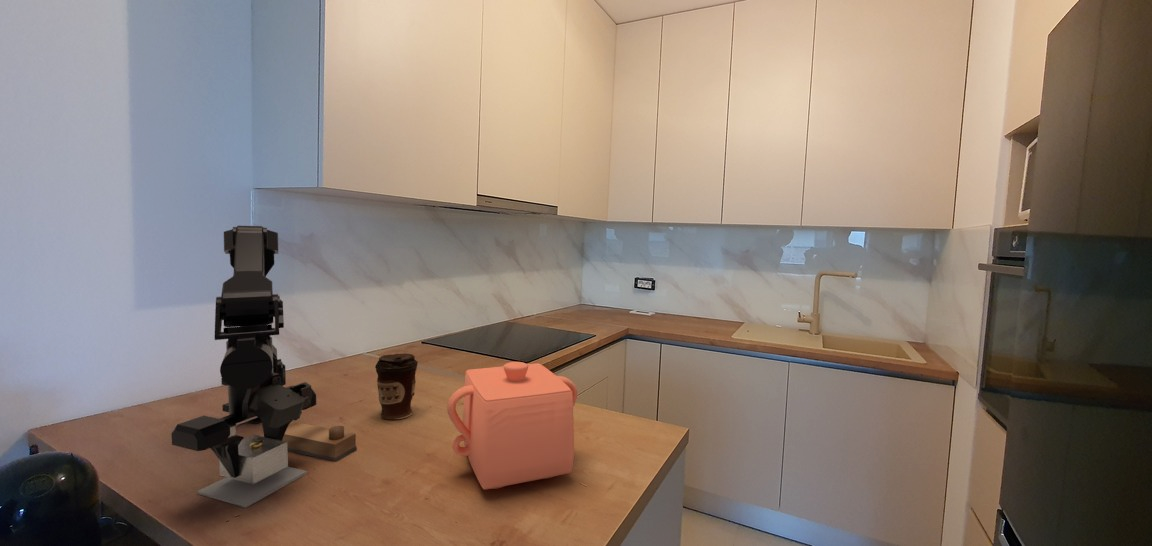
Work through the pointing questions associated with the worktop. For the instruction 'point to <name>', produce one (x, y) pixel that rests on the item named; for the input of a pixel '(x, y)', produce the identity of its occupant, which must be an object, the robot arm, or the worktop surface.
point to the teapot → (515, 423)
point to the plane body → (319, 441)
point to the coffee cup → (396, 384)
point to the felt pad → (250, 487)
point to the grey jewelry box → (259, 459)
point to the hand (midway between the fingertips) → (254, 467)
